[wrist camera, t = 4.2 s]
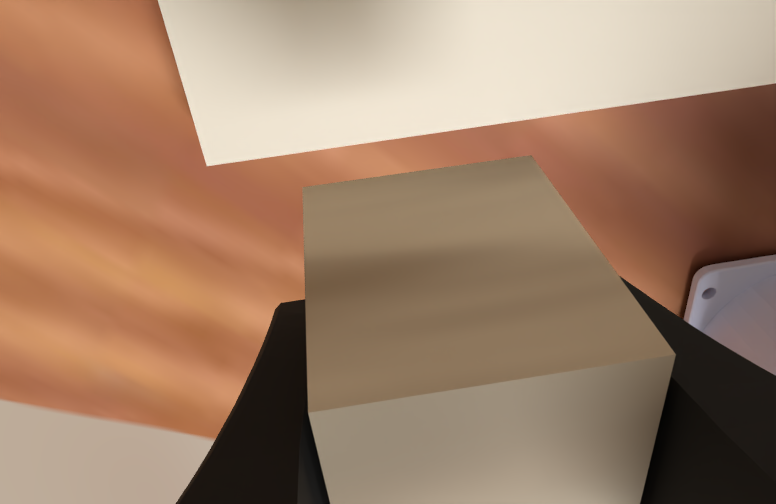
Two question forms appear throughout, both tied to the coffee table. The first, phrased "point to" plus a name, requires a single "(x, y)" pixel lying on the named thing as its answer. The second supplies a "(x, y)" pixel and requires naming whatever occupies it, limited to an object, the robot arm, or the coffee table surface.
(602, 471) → the block
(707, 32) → the white base plate
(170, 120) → the coffee table surface
